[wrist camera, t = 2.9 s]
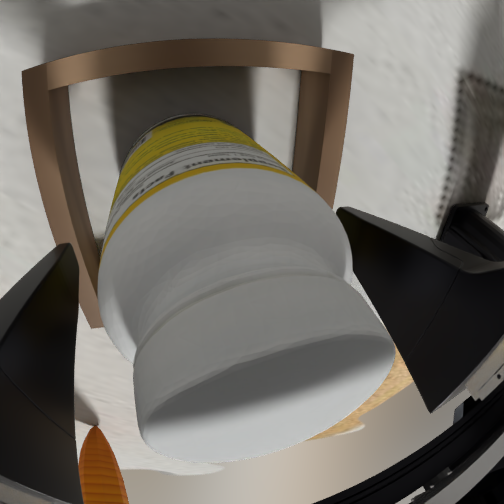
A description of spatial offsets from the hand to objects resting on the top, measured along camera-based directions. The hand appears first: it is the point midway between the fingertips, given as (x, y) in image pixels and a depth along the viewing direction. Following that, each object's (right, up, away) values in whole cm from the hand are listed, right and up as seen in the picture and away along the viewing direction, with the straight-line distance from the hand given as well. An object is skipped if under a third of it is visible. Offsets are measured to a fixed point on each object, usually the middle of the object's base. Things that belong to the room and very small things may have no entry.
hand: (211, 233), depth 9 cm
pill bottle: (-2, +3, +4) cm, 5 cm away
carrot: (-15, -18, +14) cm, 28 cm away
